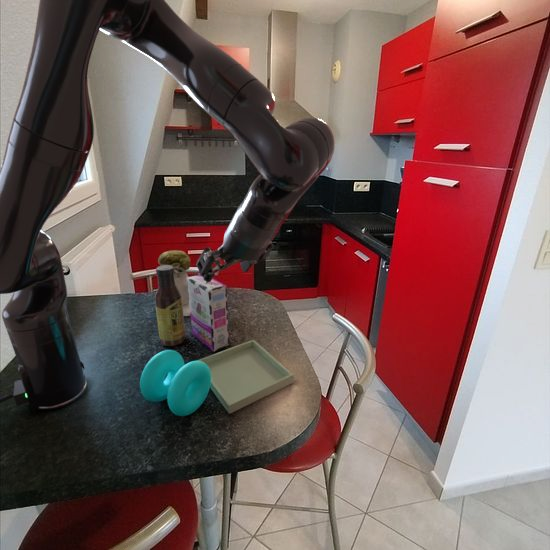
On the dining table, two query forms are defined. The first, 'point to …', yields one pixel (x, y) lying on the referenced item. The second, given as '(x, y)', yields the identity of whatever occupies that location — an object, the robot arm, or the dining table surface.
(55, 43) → the robot arm
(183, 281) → the green-topped white figurine
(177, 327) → the sauce bottle
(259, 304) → the dining table surface
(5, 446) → the dining table surface
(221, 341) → the candy bar box
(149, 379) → the turquoise spool
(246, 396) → the tray
